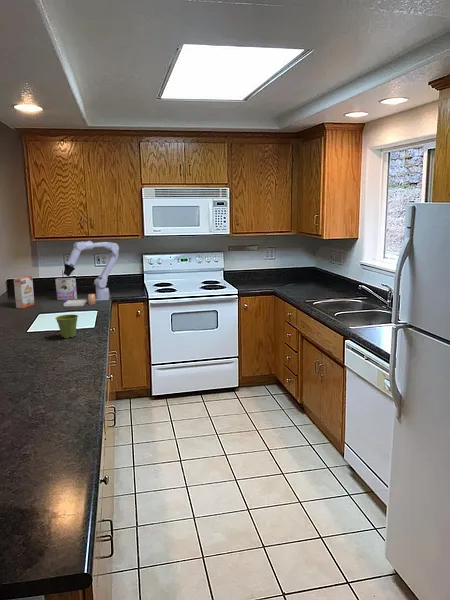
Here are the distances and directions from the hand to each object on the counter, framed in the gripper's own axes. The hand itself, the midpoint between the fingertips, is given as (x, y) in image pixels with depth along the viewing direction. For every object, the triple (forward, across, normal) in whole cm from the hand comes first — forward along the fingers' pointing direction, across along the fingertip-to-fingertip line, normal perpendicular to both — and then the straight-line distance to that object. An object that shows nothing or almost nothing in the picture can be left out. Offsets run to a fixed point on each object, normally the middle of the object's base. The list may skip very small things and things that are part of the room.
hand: (66, 275), depth 349 cm
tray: (+17, -3, +13) cm, 22 cm away
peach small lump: (+12, -2, +24) cm, 27 cm away
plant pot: (+32, +83, +34) cm, 95 cm away
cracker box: (+31, -2, -17) cm, 36 cm away
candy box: (+17, -21, +3) cm, 27 cm away
